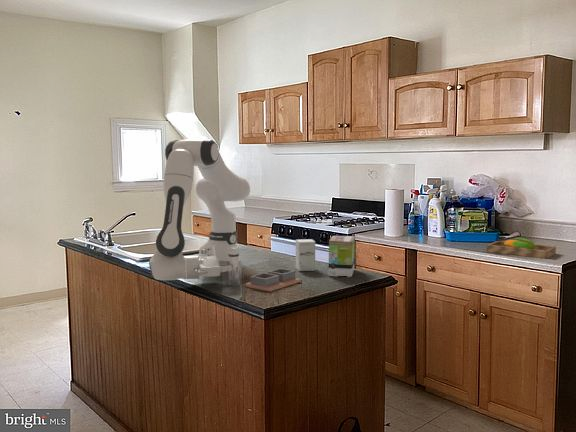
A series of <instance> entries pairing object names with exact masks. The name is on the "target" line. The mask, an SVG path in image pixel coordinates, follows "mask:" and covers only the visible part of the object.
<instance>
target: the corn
mask: <svg viewBox="0 0 576 432" xmlns="http://www.w3.org/2000/svg"><path fill="white" fill-rule="evenodd" d="M503 242H504V244H505V245H506V246H507V247H515V248H525V249H535V250H536V247H535V245H536V244H535V242H534V241H532V240H530V239H527V238H523V237H516V239H507V240H505V241H503Z"/></svg>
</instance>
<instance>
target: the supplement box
mask: <svg viewBox="0 0 576 432" xmlns="http://www.w3.org/2000/svg"><path fill="white" fill-rule="evenodd" d="M295 269H297V271H298V272H305V271H306V272H307V271H309V272H310V271H311V272H312V271H313V272H314V271H316V241H315V240H314V239H312V238H311V239H309V238H308V239H306V238H305V239H295Z"/></svg>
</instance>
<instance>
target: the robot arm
mask: <svg viewBox="0 0 576 432" xmlns="http://www.w3.org/2000/svg"><path fill="white" fill-rule="evenodd" d="M164 156H165V159H166V164H165V168H164V175H163V194H164V197H165V210H164V219H163V226H162V228H161V229H160V231H159V232H158V234H157V237H156V239H155V246H156V249H155V250H154V253H153V255H152V257H151V258H150V259H149V261H148V265H149V270H150V274H151V276H152V277H153V278H154V279H155V280H158V281H176V280H180V279H181V280H198V279H200V277H205V278H207V277H208V278H210V277H212V278H213V277H220V276H221V273H225V272H229V271H232V266H231V265H229V258H228V248H231V247H237V248H239V247H238V241H237V239H238V233H237V229H236V228H237V226H236V225H237V224H236V223H237V222H236V214H235V212H233V210H232V209H229V208H228V207H227V205H226V204H225V202H234V203H235V202H236V203H237V202H241V201H245V200H247V199H248V198H249V196H250V192H251V186H250V183H249V181H248V180H247V179H245V178H243V177H240V176H239V175H238V174H236V173H235V172H233V171H232V170H231V169H229V167H228V166H227V165H226V163H225V161H224V159H223V157H222V155H221V153H220V150H219V146H218V144H217V142H216V141H215V140H213V139H211V138H210V137H208V136H198V137H197V138H187V139H180V140H179V139H176V140H175V139H174V140H171V141H169V142H168V144H167V145H166V146H165V150H164ZM194 167H197V168H198V170H199V173H200V174H201V176H202V178H200V179H199V180H198V181H197V183H196V185H195V192H196V196H198V198H199V199H200V200H202V202H203V203H204V204H205V205H206V207H207V209H208V212H209V215H210V222H211V223H210V224H211V231H210V232H209V233H207V236H209V237H208V240H206V242H204V243H203V244H202V245H201V246H200V247H199V250H198V254H193V255H183V252H184V249H185V243H186V241H185V236H184V233H183V230H182V223H183V214H184V206H185V204H186V201H187V200H188V199H189V198H190V195H191V193H192V189H193V183H194V175H195V174H194V172H195V168H194ZM240 258H241V257H240V256H239V262H241V259H240Z"/></svg>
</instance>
